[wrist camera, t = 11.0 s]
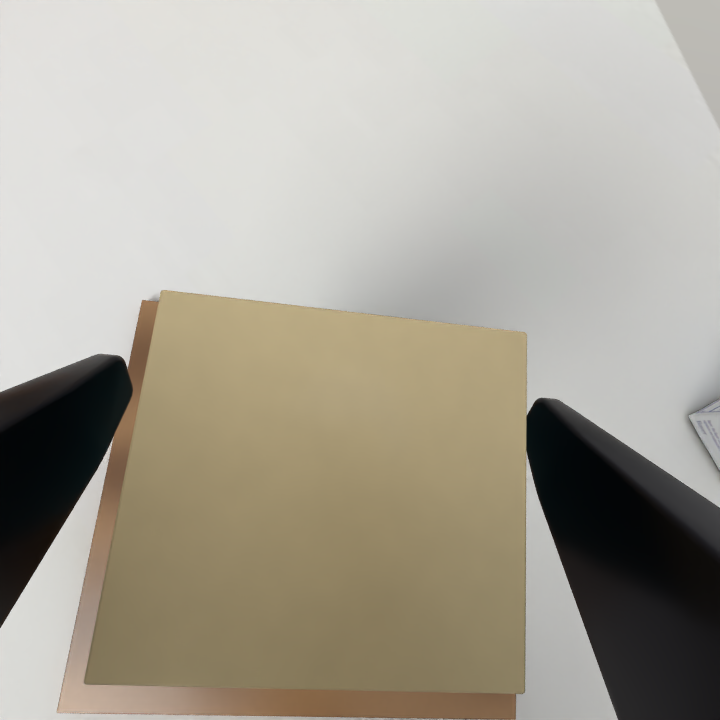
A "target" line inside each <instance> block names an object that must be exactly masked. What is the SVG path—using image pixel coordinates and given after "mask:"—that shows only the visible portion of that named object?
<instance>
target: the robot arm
mask: <svg viewBox="0 0 720 720" xmlns="http://www.w3.org/2000/svg"><path fill="white" fill-rule="evenodd" d="M132 394H133V385H132V382H131V379H130V376H129V373H128V369H127V366H126V363H125V361H124V359H123V358H122V357H120V356H118V355H108V354H97V355H94V356H91V357H89V358H86V359H84V360H81V361H79V362H76V363H73V364H71V365H68V366H66V367H63V368H61V369H58V370H56V371H53V372H51V373H48V374H45V375H43V376H40V377H38V378H35V379H33V380H30V381H28V382H25V383H23V384H20V385H18V386H15V387H12V388H10V389H7V390H5V391H2V392H0V628H1V626H2V624H3V623H4V621H5V619H6V618H7V616H8V614H9V613H10V611H11V610H12V608H13V606H14V605H15V603H16V601H17V600H18V598H19V596H20V595H21V593H22V592H23V590H24V588H25V587H26V585H27V583H28V582H29V580H30V578H31V577H32V575H33V573H34V572H35V570H36V569H37V567H38V565H39V564H40V562H41V560H42V559H43V557H44V555H45V554H46V552H47V551H48V549H49V547H50V546H51V544H52V542H53V541H54V539H55V537H56V536H57V534H58V532H59V531H60V529H61V528H62V526H63V524H64V523H65V521H66V519H67V518H68V516H69V514H70V513H71V511H72V510H73V508H74V506H75V505H76V503H77V501H78V500H79V498H80V496H81V495H82V493H83V491H84V490H85V488H86V487H87V485H88V483H89V482H90V480H91V478H92V477H93V475H94V473H95V472H96V470H97V468H98V467H99V465H100V463H101V461H102V459H103V457H104V455H105V454H106V452H107V449H108V447H109V445H110V443H111V441H112V439H113V437H114V434H115V432H116V430H117V428H118V426H119V424H120V422H121V419H122V417H123V415H124V413H125V411H126V409H127V407H128V404H129V402H130V400H131V398H132ZM526 451H527V455H528V459H529V463H530V467H531V472H532V476H533V480H534V484H535V487H536V491H537V494H538V497H539V500H540V503H541V506H542V509H543V512H544V515H545V517H546V520H547V523H548V526H549V529H550V531H551V534H552V537H553V540H554V542H555V545H556V548H557V551H558V554H559V556H560V559H561V562H562V565H563V568H564V570H565V573H566V576H567V579H568V581H569V584H570V587H571V590H572V593H573V595H574V598H575V601H576V604H577V607H578V609H579V612H580V615H581V618H582V620H583V623H584V626H585V629H586V632H587V634H588V637H589V640H590V643H591V646H592V648H593V651H594V654H595V657H596V659H597V662H598V665H599V668H600V671H601V673H602V676H603V679H604V682H605V685H606V687H607V690H608V693H609V696H610V698H611V701H612V704H613V707H614V710H615V712H616V715H617V718H618V720H720V508H719V507H718V506H716V505H715V504H713V503H712V502H710V501H709V500H707V499H706V498H704V497H703V496H701V495H700V494H698V493H697V492H695V491H694V490H693V489H691V488H690V487H688V486H687V485H685V484H684V483H682V482H681V481H679V480H678V479H676V478H675V477H673V476H672V475H670V474H669V473H667V472H666V471H664V470H663V469H661V468H660V467H658V466H657V465H655V464H654V463H652V462H651V461H649V460H648V459H646V458H645V457H643V456H642V455H640V454H639V453H637V452H636V451H634V450H633V449H631V448H630V447H628V446H627V445H625V444H624V443H622V442H621V441H619V440H618V439H616V438H615V437H613V436H612V435H610V434H609V433H607V432H606V431H604V430H603V429H601V428H600V427H598V426H597V425H595V424H594V423H593V422H591V421H590V420H588V419H587V418H585V417H584V416H582V415H581V414H579V413H578V412H576V411H575V410H573V409H572V408H570V407H569V406H567V405H566V404H564V403H563V402H561V401H560V400H557V399H551V398H539V399H537V400H536V401H535V402H534V404H533V406H532V408H531V409H530V411H529V413H528V415H527V416H526Z"/></svg>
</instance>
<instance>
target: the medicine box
mask: <svg viewBox="0 0 720 720" xmlns="http://www.w3.org/2000/svg"><path fill="white" fill-rule="evenodd" d="M689 419H690V420H691V422H692V424H693V426H694V427H695V429H696V431H697V433H698V435H699V436H700V438H701V440H702V441H703V443H704V445H705V447H706V448H707V450H708V451H709V453H710V455H711V457H712V459H713V460H714V462H715V463H716V465H717V467H718V468H719V470H720V399H718V400H717V401H715V402H713V403H711V404H710V405H708V406H706V407H704V408H703V409H701V410H699V411H697V412H696V413H694V414H691V415H689Z"/></svg>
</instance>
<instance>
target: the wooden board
mask: <svg viewBox="0 0 720 720" xmlns="http://www.w3.org/2000/svg"><path fill="white" fill-rule="evenodd" d="M158 303H159V302H155V301H146V300H142V303H141V308H140V313H139V318H138V322H137V327H136V332H135V337H134V342H133V347H132V351H131V356H130V361H129V366H128V373H129V376H130V379H131V382H132V385H133V394H132V398H131V400H130V402H129V404H128V407H127V409H126V411H125V413H124V415H123V417H122V419H121V422H120V424H119V426H118V428H117V430H116V432H115V434H114V438H113V443H112V448H111V453H110V458H109V462H108V467H107V472H106V477H105V482H104V487H103V491H102V496H101V501H100V506H99V511H98V516H97V520H96V525H95V530H94V535H93V540H92V545H91V549H90V554H89V559H88V564H87V569H86V574H85V578H84V583H83V588H82V593H81V598H80V603H79V607H78V612H77V617H76V622H75V627H74V632H73V636H72V641H71V646H70V651H69V656H68V661H67V665H66V670H65V675H64V680H63V685H62V690H61V694H60V699H59V704H58V709H57V713H97V714H165V715H233V716H301V717H369V718H436V719H504V720H515V719H516V694H500V693H452V692H405V691H357V690H310V689H262V688H215V687H167V686H120V685H86V684H84V678H85V673H86V668H87V663H88V657H89V652H90V647H91V642H92V637H93V632H94V627H95V622H96V617H97V612H98V607H99V602H100V597H101V592H102V587H103V582H104V576H105V571H106V566H107V561H108V556H109V551H110V546H111V541H112V536H113V531H114V526H115V521H116V516H117V511H118V506H119V501H120V496H121V490H122V485H123V480H124V475H125V470H126V465H127V460H128V455H129V450H130V445H131V440H132V435H133V430H134V425H135V420H136V415H137V409H138V404H139V399H140V394H141V389H142V384H143V379H144V374H145V369H146V364H147V359H148V354H149V349H150V344H151V339H152V334H153V328H154V323H155V318H156V313H157V308H158Z"/></svg>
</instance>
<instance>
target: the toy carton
mask: <svg viewBox="0 0 720 720" xmlns="http://www.w3.org/2000/svg"><path fill="white" fill-rule="evenodd" d="M526 408H527V334H526V333H525V332H518V331H510V330H501V329H493V328H484V327H476V326H467V325H458V324H450V323H441V322H433V321H424V320H416V319H407V318H399V317H390V316H381V315H373V314H364V313H356V312H347V311H339V310H330V309H322V308H313V307H304V306H296V305H287V304H279V303H270V302H262V301H253V300H245V299H236V298H228V297H219V296H210V295H202V294H193V293H185V292H176V291H168V290H163V291H161V293H160V298H159V303H158V308H157V313H156V318H155V323H154V328H153V334H152V339H151V344H150V349H149V354H148V359H147V364H146V369H145V374H144V379H143V384H142V389H141V394H140V399H139V404H138V409H137V415H136V420H135V425H134V430H133V435H132V440H131V445H130V450H129V455H128V460H127V465H126V470H125V475H124V480H123V485H122V490H121V496H120V501H119V506H118V511H117V516H116V521H115V526H114V531H113V536H112V541H111V546H110V551H109V556H108V561H107V566H106V571H105V576H104V582H103V587H102V592H101V597H100V602H99V607H98V612H97V617H96V622H95V627H94V632H93V637H92V642H91V647H90V652H89V657H88V663H87V668H86V673H85V678H84V684H86V685H120V686H167V687H215V688H262V689H310V690H357V691H405V692H452V693H500V694H523V693H524V692H525V607H526Z"/></svg>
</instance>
